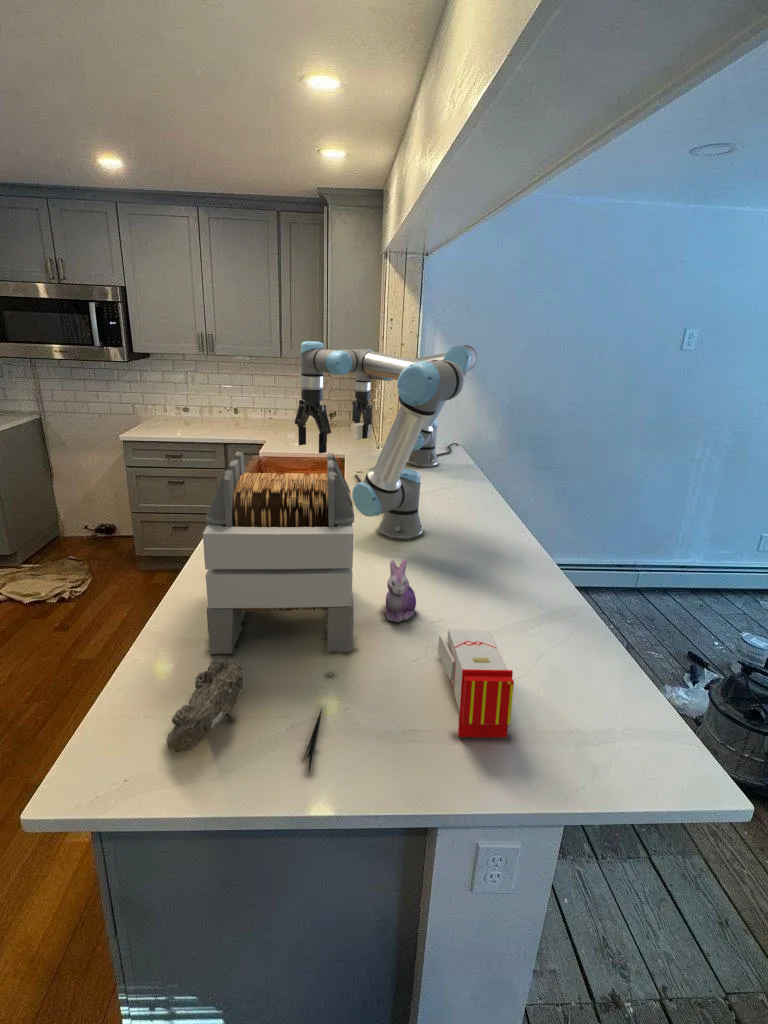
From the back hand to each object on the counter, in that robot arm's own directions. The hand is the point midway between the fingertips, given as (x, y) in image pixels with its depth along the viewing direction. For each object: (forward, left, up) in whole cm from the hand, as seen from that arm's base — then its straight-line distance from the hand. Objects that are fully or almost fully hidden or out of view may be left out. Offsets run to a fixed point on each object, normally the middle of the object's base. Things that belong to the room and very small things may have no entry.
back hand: (361, 436), depth 287 cm
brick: (0, 0, -1) cm, 1 cm away
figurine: (+147, +47, -13) cm, 155 cm away
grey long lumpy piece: (+195, +19, -13) cm, 196 cm away
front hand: (+86, +3, +14) cm, 88 cm away
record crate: (+156, +19, -13) cm, 158 cm away
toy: (+174, +67, -13) cm, 187 cm away
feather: (+190, +39, -13) cm, 195 cm away
